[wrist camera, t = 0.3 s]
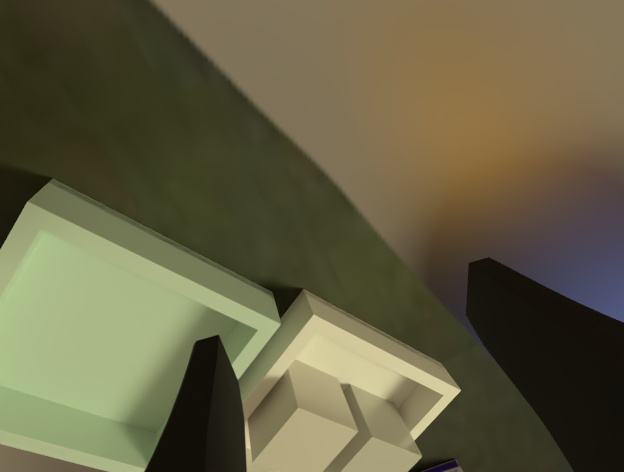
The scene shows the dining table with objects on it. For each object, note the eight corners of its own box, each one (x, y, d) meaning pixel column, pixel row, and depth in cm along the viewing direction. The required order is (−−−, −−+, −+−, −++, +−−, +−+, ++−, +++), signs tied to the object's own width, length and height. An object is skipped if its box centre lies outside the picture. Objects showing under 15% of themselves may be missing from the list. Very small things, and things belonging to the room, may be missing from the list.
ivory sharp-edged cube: (299, 423, 27) (313, 481, 23) (245, 403, 25) (252, 463, 22) (337, 378, 26) (358, 431, 22) (284, 354, 24) (298, 407, 21)
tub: (162, 438, 26) (157, 484, 23) (-58, 371, 21) (-96, 419, 18) (272, 291, 23) (281, 324, 21) (52, 178, 18) (27, 201, 16)
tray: (336, 479, 31) (346, 513, 29) (191, 433, 26) (190, 469, 24) (440, 363, 28) (461, 390, 26) (303, 288, 24) (313, 314, 21)
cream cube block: (357, 445, 29) (379, 501, 25) (311, 428, 27) (327, 486, 24) (394, 404, 28) (422, 456, 25) (349, 383, 26) (372, 436, 23)
